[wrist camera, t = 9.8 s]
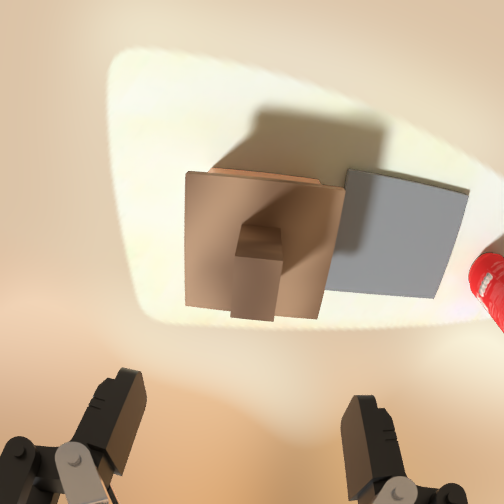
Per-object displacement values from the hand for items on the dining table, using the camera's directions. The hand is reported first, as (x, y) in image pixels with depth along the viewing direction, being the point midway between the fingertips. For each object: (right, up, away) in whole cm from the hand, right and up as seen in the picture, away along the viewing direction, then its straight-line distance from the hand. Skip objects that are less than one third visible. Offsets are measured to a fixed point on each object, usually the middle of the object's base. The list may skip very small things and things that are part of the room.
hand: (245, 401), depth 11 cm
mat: (+13, +7, +16) cm, 22 cm away
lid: (+1, +6, +11) cm, 13 cm away
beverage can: (+25, +4, +17) cm, 30 cm away
